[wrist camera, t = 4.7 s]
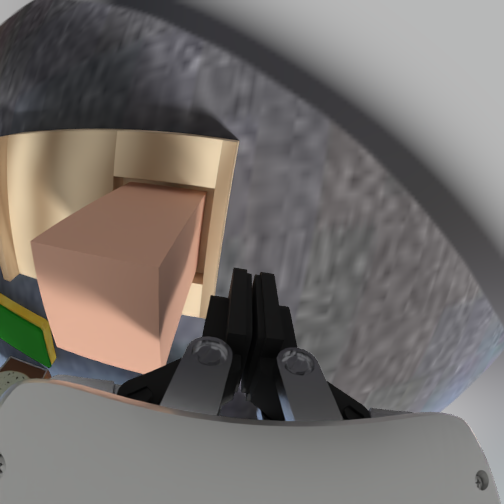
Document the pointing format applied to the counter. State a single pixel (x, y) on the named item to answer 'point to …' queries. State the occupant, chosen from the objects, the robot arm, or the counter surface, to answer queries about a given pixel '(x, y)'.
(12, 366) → the food container
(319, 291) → the counter surface
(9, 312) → the dish sponge
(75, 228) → the block
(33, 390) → the robot arm
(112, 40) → the counter surface
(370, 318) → the counter surface
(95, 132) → the open box
